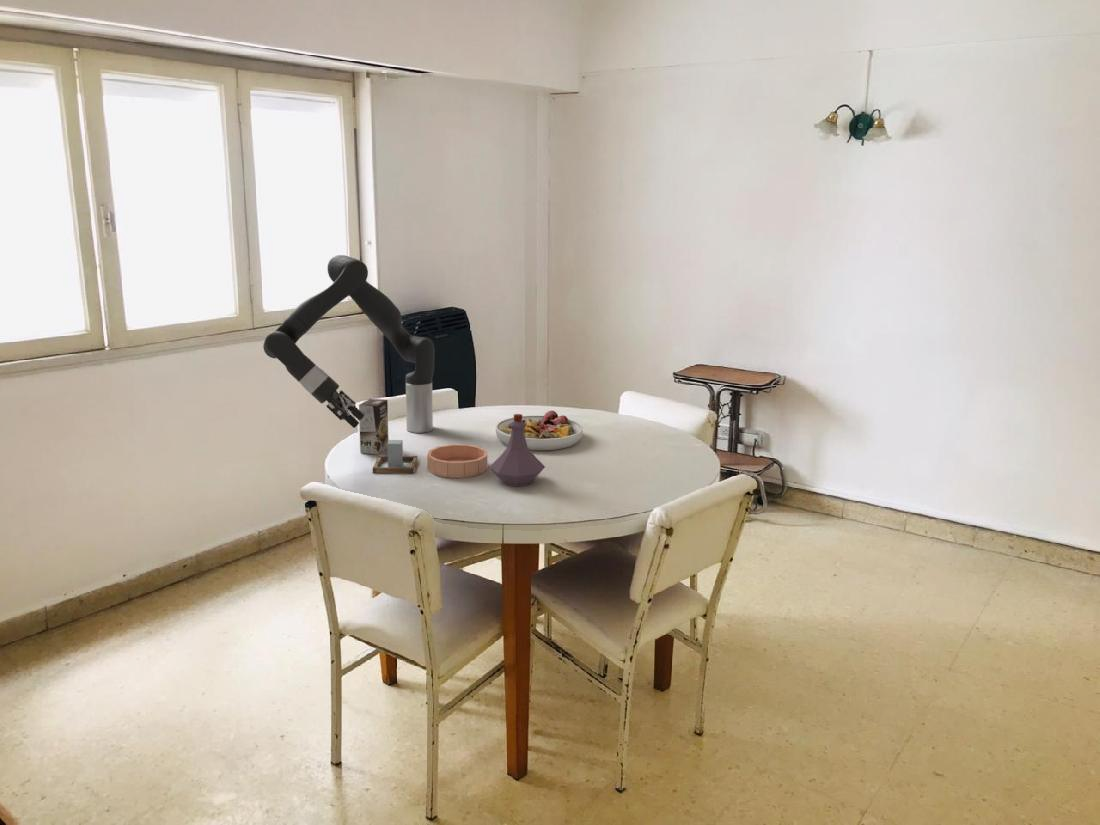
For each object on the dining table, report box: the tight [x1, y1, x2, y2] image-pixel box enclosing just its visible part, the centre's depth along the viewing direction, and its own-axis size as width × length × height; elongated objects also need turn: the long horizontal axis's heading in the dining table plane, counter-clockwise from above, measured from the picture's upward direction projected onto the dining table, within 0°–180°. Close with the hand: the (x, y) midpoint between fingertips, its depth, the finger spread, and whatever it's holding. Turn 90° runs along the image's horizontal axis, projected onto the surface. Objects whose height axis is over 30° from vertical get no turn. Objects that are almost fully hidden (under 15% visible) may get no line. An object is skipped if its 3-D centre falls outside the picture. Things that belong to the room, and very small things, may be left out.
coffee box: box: [358, 398, 390, 455], centre depth 259 cm, size 9×6×16 cm
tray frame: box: [372, 455, 419, 474], centre depth 245 cm, size 12×12×2 cm
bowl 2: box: [495, 410, 584, 452], centre depth 275 cm, size 30×30×8 cm
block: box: [387, 439, 404, 467], centre depth 244 cm, size 4×4×8 cm
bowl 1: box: [426, 443, 489, 479], centre depth 244 cm, size 18×18×5 cm
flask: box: [488, 413, 546, 487], centre depth 233 cm, size 16×16×20 cm
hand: (359, 421), depth 241 cm, fingers open, 8 cm apart
